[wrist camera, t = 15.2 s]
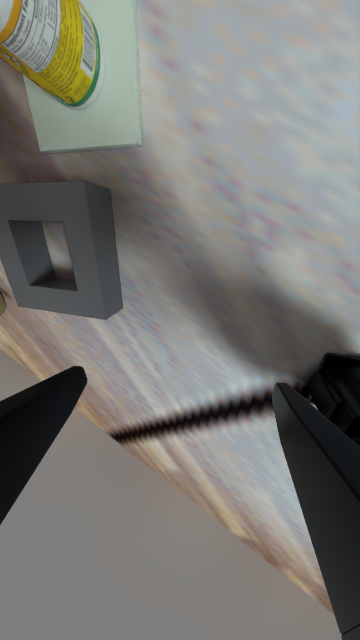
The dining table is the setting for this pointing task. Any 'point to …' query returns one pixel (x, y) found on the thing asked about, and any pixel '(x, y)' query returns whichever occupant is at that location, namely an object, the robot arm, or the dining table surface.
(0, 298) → the squeeze bottle
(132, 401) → the dining table surface
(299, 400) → the robot arm
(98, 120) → the tile
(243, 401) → the dining table surface
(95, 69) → the supplement bottle
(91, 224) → the holder
